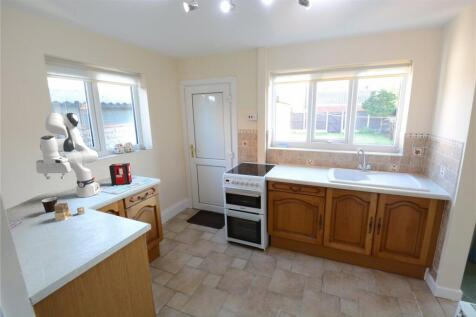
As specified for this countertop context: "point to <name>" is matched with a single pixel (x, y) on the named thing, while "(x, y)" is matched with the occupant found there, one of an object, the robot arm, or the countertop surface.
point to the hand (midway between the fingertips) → (55, 178)
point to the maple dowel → (80, 210)
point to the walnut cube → (61, 207)
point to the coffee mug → (49, 204)
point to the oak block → (63, 215)
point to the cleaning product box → (120, 174)
